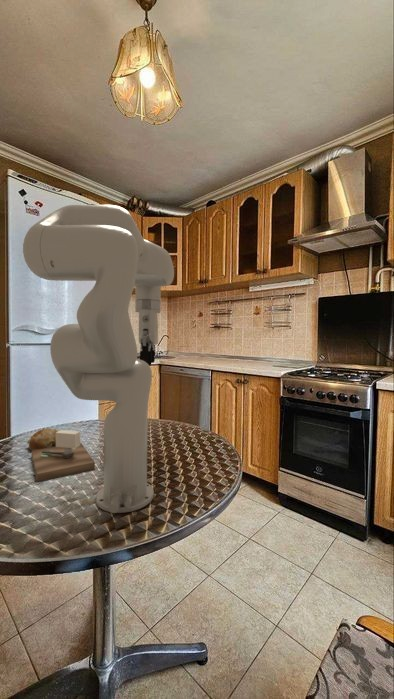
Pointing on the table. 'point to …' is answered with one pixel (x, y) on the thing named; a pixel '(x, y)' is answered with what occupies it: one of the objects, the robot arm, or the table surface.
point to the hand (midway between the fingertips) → (147, 363)
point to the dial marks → (50, 454)
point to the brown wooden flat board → (61, 463)
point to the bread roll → (43, 439)
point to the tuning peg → (66, 442)
